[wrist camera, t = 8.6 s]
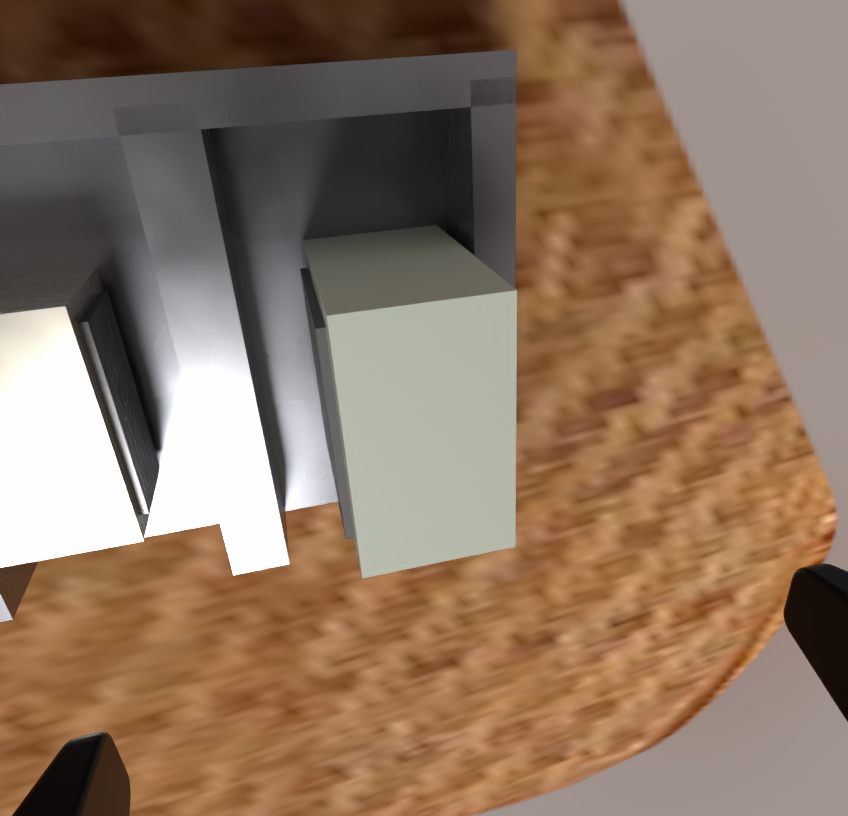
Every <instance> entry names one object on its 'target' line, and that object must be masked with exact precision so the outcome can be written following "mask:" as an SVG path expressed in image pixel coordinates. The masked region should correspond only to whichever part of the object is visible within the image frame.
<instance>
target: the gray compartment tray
mask: <svg viewBox="0 0 848 816" xmlns="http://www.w3.org/2000/svg"><path fill="white" fill-rule="evenodd" d="M433 225H437V226H438V227H439V228H441V229H442V230H443V231H444V232H446V233H447V234H448V235H449V236H451V237H452V238H453V239H454V240H456V241H457V242H458V243H459V244H460V245H462V246H463V247H464V248H465V249H467V250H468V251H469V252H470V253H472V254H473V255H474V256H475V257H477V258H478V259H479V260H480V261H481V262H483V263H484V264H485V265H486V266H488V267H489V268H490V269H491V270H493V271H494V272H495V273H496V274H498V275H499V276H500V277H501V278H503V279H504V280H505V281H506V282H507V283H509V284H510V285H511V286H512V287H514V288H515V244H516V50H504V51H489V52H475V53H460V54H445V55H430V56H415V57H401V58H386V59H371V60H356V61H341V62H326V63H312V64H297V65H282V66H267V67H252V68H237V69H223V70H208V71H193V72H178V73H163V74H148V75H134V76H119V77H104V78H89V79H74V80H59V81H45V82H30V83H15V84H0V622H3V621H8V620H13V618H14V616H15V613H16V611H17V609H18V606H19V604H20V602H21V600H22V597H23V595H24V593H25V591H26V588H27V586H28V584H29V581H30V579H31V577H32V575H33V572H34V570H35V568H36V565H37V563H38V561H40V560H45V559H50V558H56V557H61V556H66V555H72V554H77V553H82V552H88V551H93V550H98V549H104V548H109V547H115V546H120V545H125V544H131V543H136V542H141V541H144V537H149V536H154V535H160V534H165V533H170V532H176V531H181V530H187V529H192V528H197V527H203V526H208V525H213V524H219V523H220V525H221V529H222V533H223V537H224V541H225V545H226V548H227V552H228V556H229V560H230V564H231V568H232V572H233V575H237V574H242V573H247V572H252V571H257V570H262V569H267V568H272V567H277V566H282V565H287V564H289V552H288V539H287V526H286V513H285V511H289V510H294V509H299V508H305V507H310V506H315V505H321V504H326V503H331V502H337V501H338V498H337V493H336V488H335V483H334V478H333V473H332V468H331V463H330V458H329V454H328V449H327V444H326V438H325V431H324V424H323V418H322V411H321V404H320V398H319V391H318V385H317V378H316V371H315V365H314V358H313V351H312V345H311V338H310V332H309V325H308V318H307V312H306V305H305V298H304V292H303V285H302V279H301V272H300V269H301V268H307V265H306V258H305V251H304V244H303V240H309V239H318V238H327V237H335V236H344V235H353V234H362V233H371V232H380V231H389V230H397V229H406V228H415V227H424V226H433Z"/></svg>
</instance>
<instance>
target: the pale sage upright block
mask: <svg viewBox="0 0 848 816" xmlns="http://www.w3.org/2000/svg"><path fill="white" fill-rule="evenodd" d="M303 244H304V251H305V258H306V265H307V268H301V269H300V272H301V279H302V285H303V292H304V298H305V305H306V312H307V318H308V325H309V332H310V338H311V345H312V351H313V358H314V365H315V371H316V378H317V385H318V391H319V398H320V404H321V411H322V418H323V424H324V431H325V438H326V444H327V449H328V454H329V458H330V463H331V468H332V473H333V478H334V483H335V488H336V493H337V498H338V503H339V507H340V512H341V517H342V522H343V527H344V532H345V537H346V539H349V538H354V542H355V547H356V551H357V556H358V560H359V565H360V570H361V574H362V578H366V577H371V576H376V575H381V574H385V573H390V572H395V571H400V570H405V569H410V568H414V567H419V566H424V565H429V564H434V563H438V562H443V561H448V560H453V559H458V558H463V557H467V556H472V555H477V554H482V553H487V552H492V551H496V550H501V549H506V548H511V547H515V510H516V368H517V290H516V289H515V288H514V287H512V286H511V285H510V284H509V283H507V282H506V281H505V280H504V279H503V278H501V277H500V276H499V275H498V274H496V273H495V272H494V271H493V270H491V269H490V268H489V267H488V266H486V265H485V264H484V263H483V262H481V261H480V260H479V259H478V258H477V257H475V256H474V255H473V254H472V253H470V252H469V251H468V250H467V249H465V248H464V247H463V246H462V245H460V244H459V243H458V242H457V241H456V240H454V239H453V238H452V237H451V236H449V235H448V234H447V233H446V232H444V231H443V230H442V229H441V228H439V227H438V226H437V225H433V226H424V227H415V228H406V229H397V230H389V231H380V232H371V233H362V234H353V235H344V236H335V237H327V238H318V239H309V240H303Z"/></svg>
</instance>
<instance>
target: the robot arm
mask: <svg viewBox="0 0 848 816" xmlns="http://www.w3.org/2000/svg"><path fill="white" fill-rule="evenodd" d="M784 620H785V623H786V626H787V628H788V630H789V632H790V633H791V635H792V636H793V638H794V639H795V641H796V642H797V644H798V646H799V647H800V649H801V650H802V652H803V653H804V655H805V657H806V658H807V660H808V661H809V663H810V664H811V666H812V667H813V669H814V670H815V672H816V674H817V675H818V677H819V678H820V680H821V681H822V683H823V685H824V686H825V688H826V689H827V691H828V692H829V694H830V695H831V697H832V699H833V700H834V702H835V703H836V705H837V706H838V708H839V709H840V711H841V712H842V714H843V716H844V717H845V718H846V720H847V721H848V572H847V571H845V570H843V569H840V568H838V567H835V566H833V565H830V564H823V563H822V564H816V565H812V566H807V567H803V568H800V569H798V570H797V571H796V572H795V573H794V575H793V577H792V581H791V585H790V589H789V592H788V596H787V600H786V604H785V607H784ZM129 815H130V781H129V777H128V773H127V771H126V769H125V766H124V764H123V762H122V759H121V757H120V755H119V752H118V750H117V748H116V746H115V743H114V741H113V739H112V737H111V736H110V735H109V734H108V733H106V732H99V733H94V734H90V735H86V736H81V737H77V738H74V739H71V740H70V741H68V742H67V743H66V744H65V745H64V746H63V747H62V749H61V750H60V751H59V753H58V754H57V755H56V757H55V758H54V759H53V761H52V762H51V763H50V765H49V766H48V768H47V769H46V770H45V772H44V773H43V774H42V776H41V777H40V778H39V780H38V781H37V782H36V784H35V785H34V787H33V788H32V789H31V791H30V792H29V793H28V795H27V796H26V797H25V799H24V800H23V802H22V803H21V804H20V806H19V807H18V808H17V810H16V811H15V812H14V814H13V815H12V816H129Z"/></svg>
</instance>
